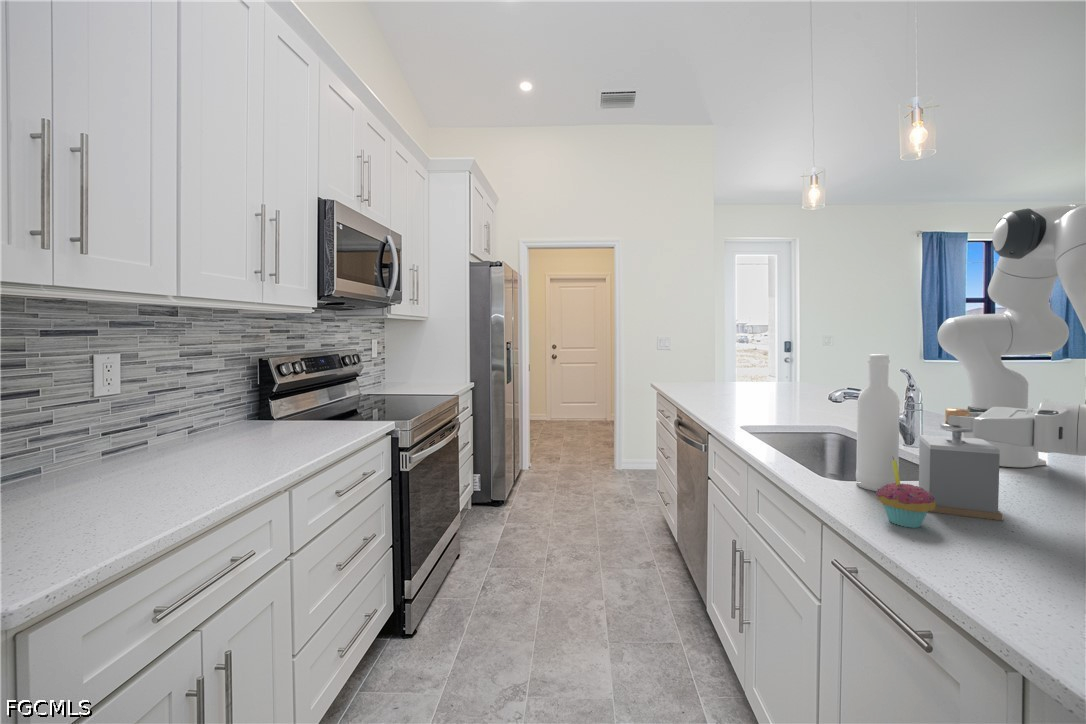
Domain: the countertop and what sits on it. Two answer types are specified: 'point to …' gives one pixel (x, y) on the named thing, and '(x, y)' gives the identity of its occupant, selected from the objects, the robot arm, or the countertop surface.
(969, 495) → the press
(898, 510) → the cupcake
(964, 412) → the plunger
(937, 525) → the countertop surface
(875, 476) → the bottle
